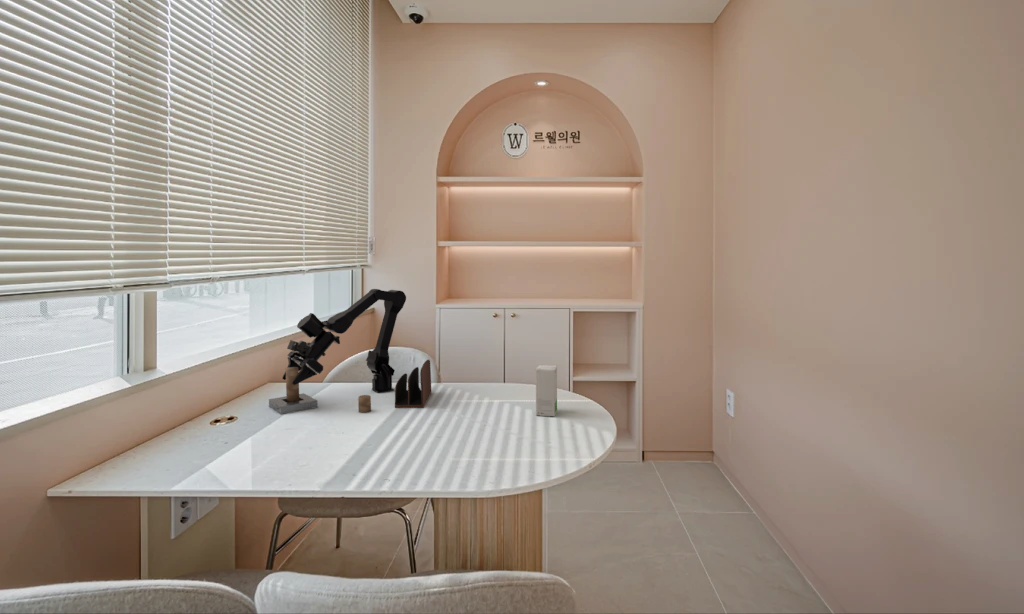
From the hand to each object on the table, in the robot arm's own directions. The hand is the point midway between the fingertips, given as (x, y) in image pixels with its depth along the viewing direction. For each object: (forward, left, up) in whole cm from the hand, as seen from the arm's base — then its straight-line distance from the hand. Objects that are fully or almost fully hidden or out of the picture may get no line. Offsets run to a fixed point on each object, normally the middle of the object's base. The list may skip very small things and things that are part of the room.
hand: (288, 381), depth 177 cm
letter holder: (-39, +16, -9) cm, 43 cm away
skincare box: (-67, +56, -9) cm, 88 cm away
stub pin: (-19, +19, -9) cm, 29 cm away
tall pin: (-1, 0, -9) cm, 9 cm away
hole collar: (-1, 0, -9) cm, 9 cm away
